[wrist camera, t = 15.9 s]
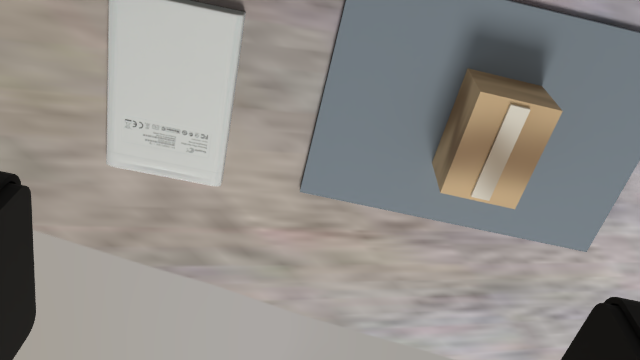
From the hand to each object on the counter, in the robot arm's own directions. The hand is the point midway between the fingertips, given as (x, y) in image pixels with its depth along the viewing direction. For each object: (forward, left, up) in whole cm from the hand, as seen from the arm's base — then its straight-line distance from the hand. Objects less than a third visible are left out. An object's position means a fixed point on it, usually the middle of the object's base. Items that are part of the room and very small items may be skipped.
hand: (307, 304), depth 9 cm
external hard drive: (-9, -10, -29) cm, 32 cm away
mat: (+12, -7, -28) cm, 32 cm away
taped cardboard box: (+12, -7, -28) cm, 31 cm away
